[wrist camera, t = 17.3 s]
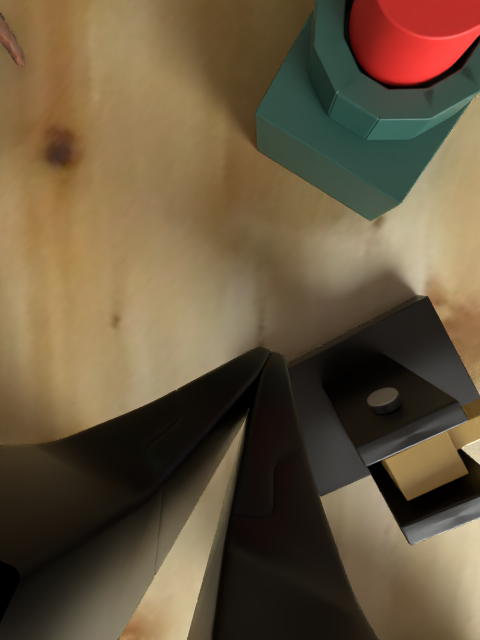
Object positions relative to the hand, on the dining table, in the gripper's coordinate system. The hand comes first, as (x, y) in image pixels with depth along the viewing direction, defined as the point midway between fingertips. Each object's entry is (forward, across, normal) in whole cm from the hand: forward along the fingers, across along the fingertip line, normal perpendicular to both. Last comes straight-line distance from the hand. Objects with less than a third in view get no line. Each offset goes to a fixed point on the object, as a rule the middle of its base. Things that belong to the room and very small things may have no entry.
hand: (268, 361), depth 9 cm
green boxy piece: (+16, 0, -8) cm, 18 cm away
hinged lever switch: (+10, -6, +8) cm, 14 cm away
